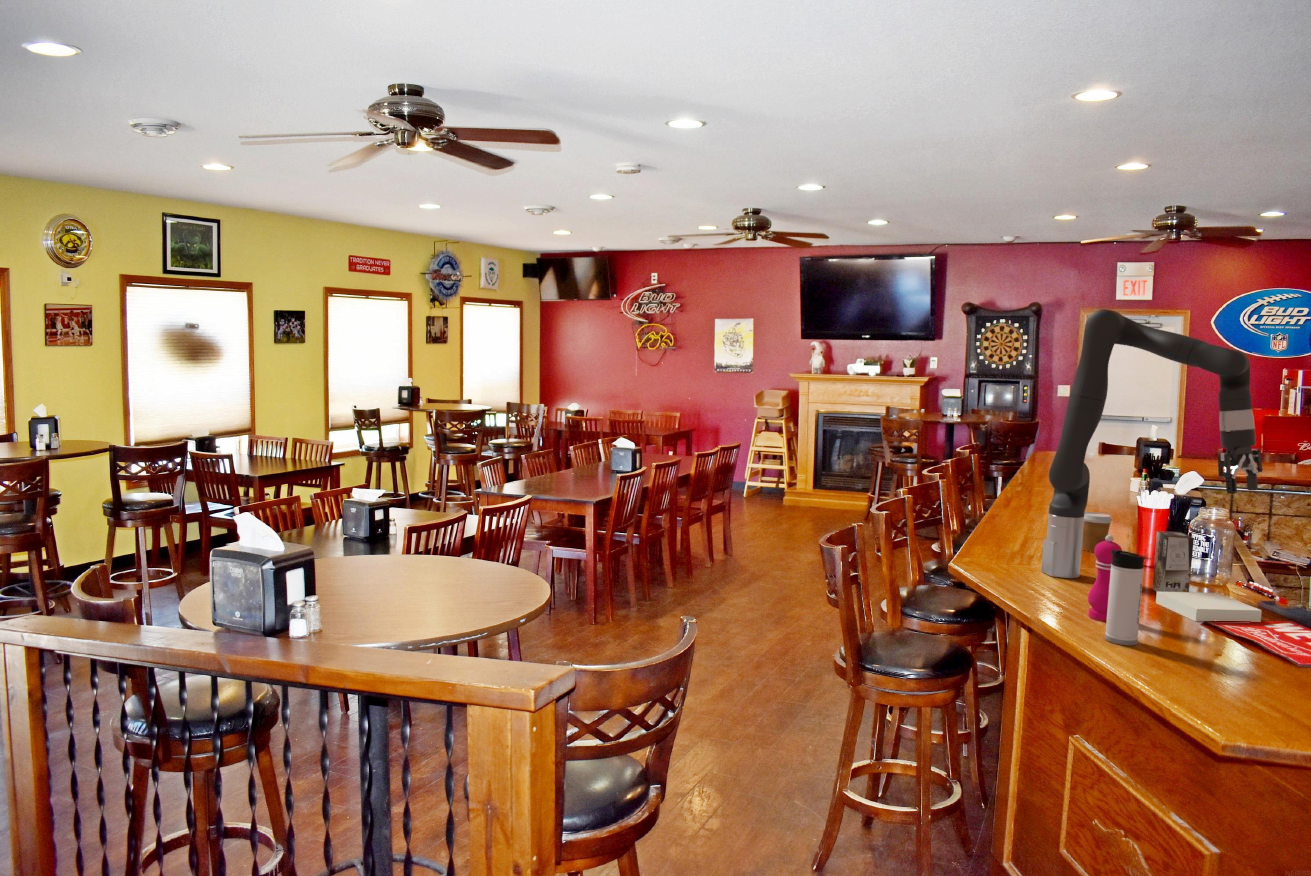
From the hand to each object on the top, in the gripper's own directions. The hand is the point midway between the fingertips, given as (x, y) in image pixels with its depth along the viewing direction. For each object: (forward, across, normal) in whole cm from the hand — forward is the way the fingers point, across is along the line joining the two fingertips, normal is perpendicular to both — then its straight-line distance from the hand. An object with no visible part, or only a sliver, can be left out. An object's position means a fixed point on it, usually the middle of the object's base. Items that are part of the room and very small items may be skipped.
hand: (1242, 491), depth 235 cm
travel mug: (+27, +60, +8) cm, 67 cm away
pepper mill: (+26, +48, -6) cm, 54 cm away
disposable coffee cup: (+22, -20, -62) cm, 69 cm away
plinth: (+28, +18, 0) cm, 33 cm away
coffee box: (+27, +8, -16) cm, 32 cm away
